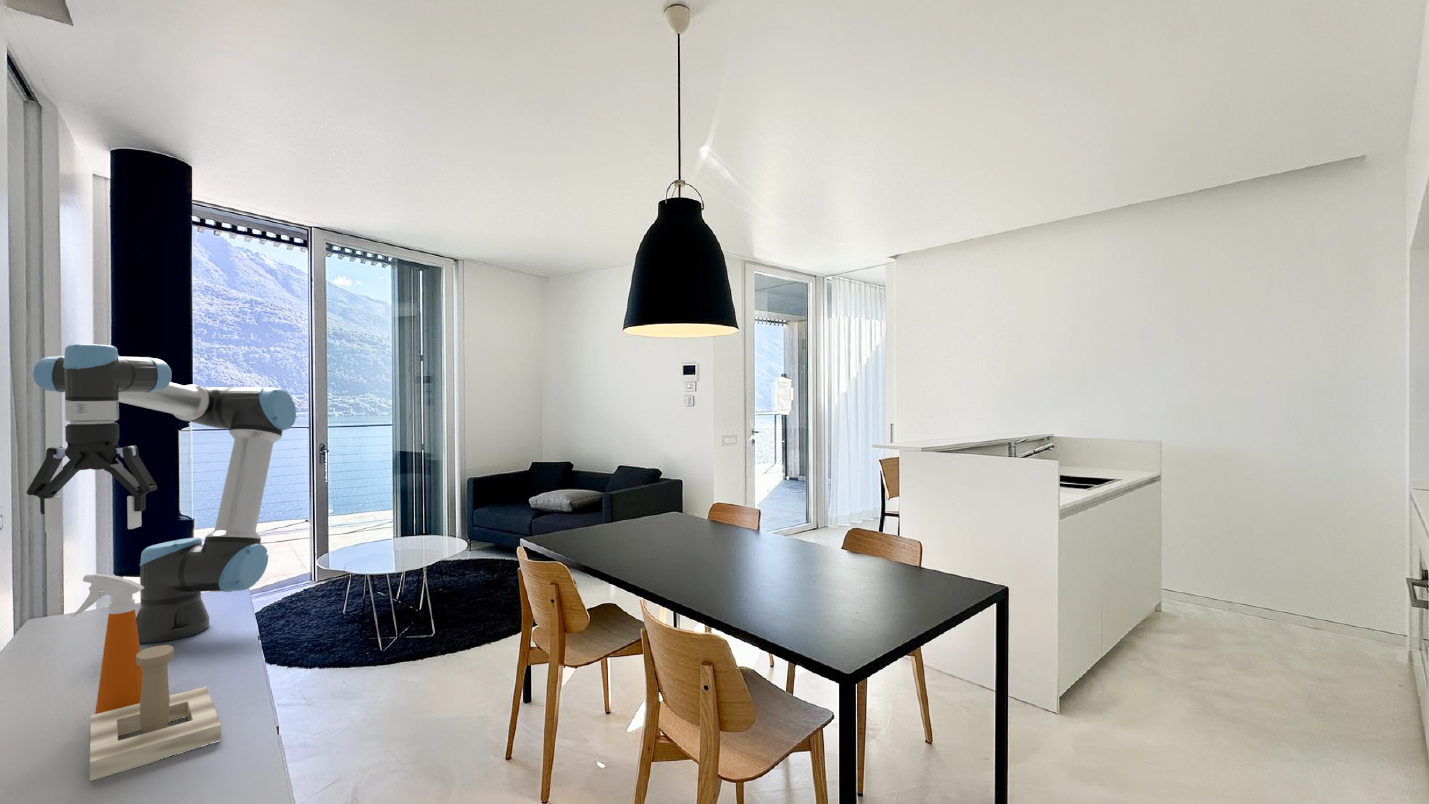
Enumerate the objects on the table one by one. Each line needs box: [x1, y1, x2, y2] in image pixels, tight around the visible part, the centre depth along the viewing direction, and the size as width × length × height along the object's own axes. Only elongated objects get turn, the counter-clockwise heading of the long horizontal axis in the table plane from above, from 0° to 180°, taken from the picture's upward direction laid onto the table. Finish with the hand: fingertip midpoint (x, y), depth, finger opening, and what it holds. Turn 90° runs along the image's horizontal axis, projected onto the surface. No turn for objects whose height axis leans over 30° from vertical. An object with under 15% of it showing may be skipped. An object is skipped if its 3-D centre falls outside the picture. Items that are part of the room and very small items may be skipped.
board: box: [89, 686, 222, 782], centre depth 109 cm, size 20×16×3 cm
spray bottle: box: [71, 572, 145, 715], centre depth 118 cm, size 7×11×26 cm, turn 111°
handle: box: [136, 644, 175, 735], centre depth 109 cm, size 5×6×15 cm
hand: (94, 529), depth 123 cm, fingers open, 13 cm apart
